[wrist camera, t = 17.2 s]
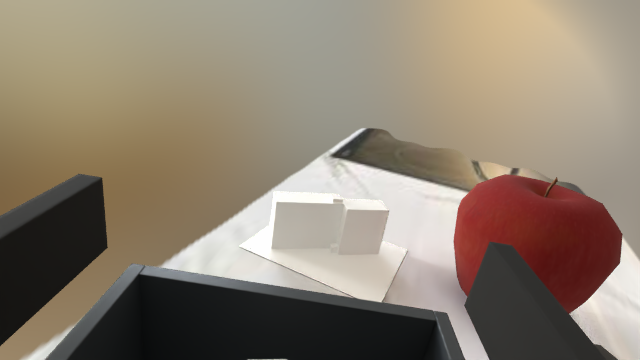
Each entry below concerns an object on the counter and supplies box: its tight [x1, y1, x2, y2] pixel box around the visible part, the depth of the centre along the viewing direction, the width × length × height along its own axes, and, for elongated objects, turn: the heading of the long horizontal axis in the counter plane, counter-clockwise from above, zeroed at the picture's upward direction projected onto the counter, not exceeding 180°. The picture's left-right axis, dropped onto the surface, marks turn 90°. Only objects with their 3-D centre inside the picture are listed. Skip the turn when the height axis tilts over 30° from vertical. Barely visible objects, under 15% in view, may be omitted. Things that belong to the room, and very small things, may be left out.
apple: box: [454, 174, 622, 314], centre depth 31 cm, size 12×12×13 cm
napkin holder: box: [239, 191, 407, 302], centre depth 37 cm, size 15×11×6 cm
